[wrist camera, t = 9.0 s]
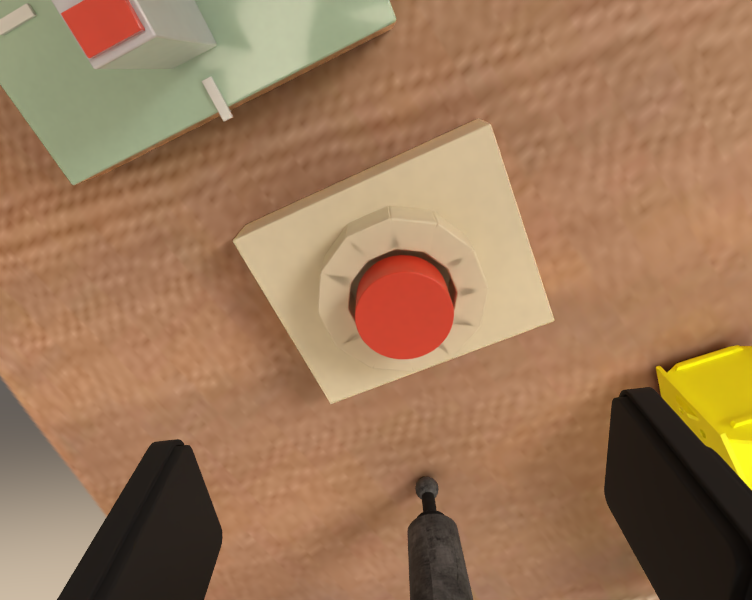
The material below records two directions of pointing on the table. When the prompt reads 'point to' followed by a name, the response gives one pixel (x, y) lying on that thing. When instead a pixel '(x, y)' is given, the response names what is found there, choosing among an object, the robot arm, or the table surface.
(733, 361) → the yellow toy chassis
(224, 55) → the base
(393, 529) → the table surface
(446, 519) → the microphone
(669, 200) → the table surface
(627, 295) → the table surface
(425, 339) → the button
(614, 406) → the robot arm
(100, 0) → the red-tabbed grey block
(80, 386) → the table surface
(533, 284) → the beige button housing
